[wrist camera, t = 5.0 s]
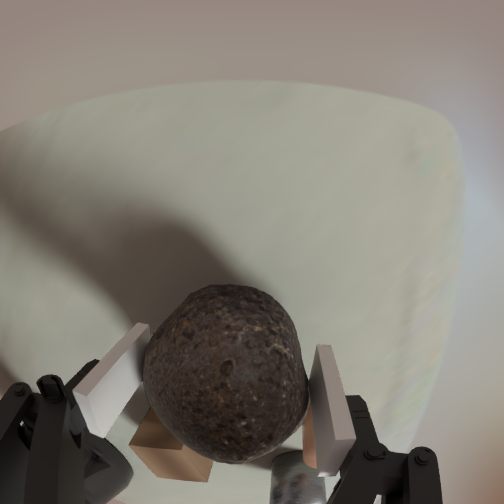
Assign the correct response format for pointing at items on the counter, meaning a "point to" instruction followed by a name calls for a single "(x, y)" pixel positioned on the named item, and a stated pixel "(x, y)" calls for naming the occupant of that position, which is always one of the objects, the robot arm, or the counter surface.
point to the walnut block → (167, 452)
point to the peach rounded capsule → (309, 440)
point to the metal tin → (295, 481)
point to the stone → (227, 374)
